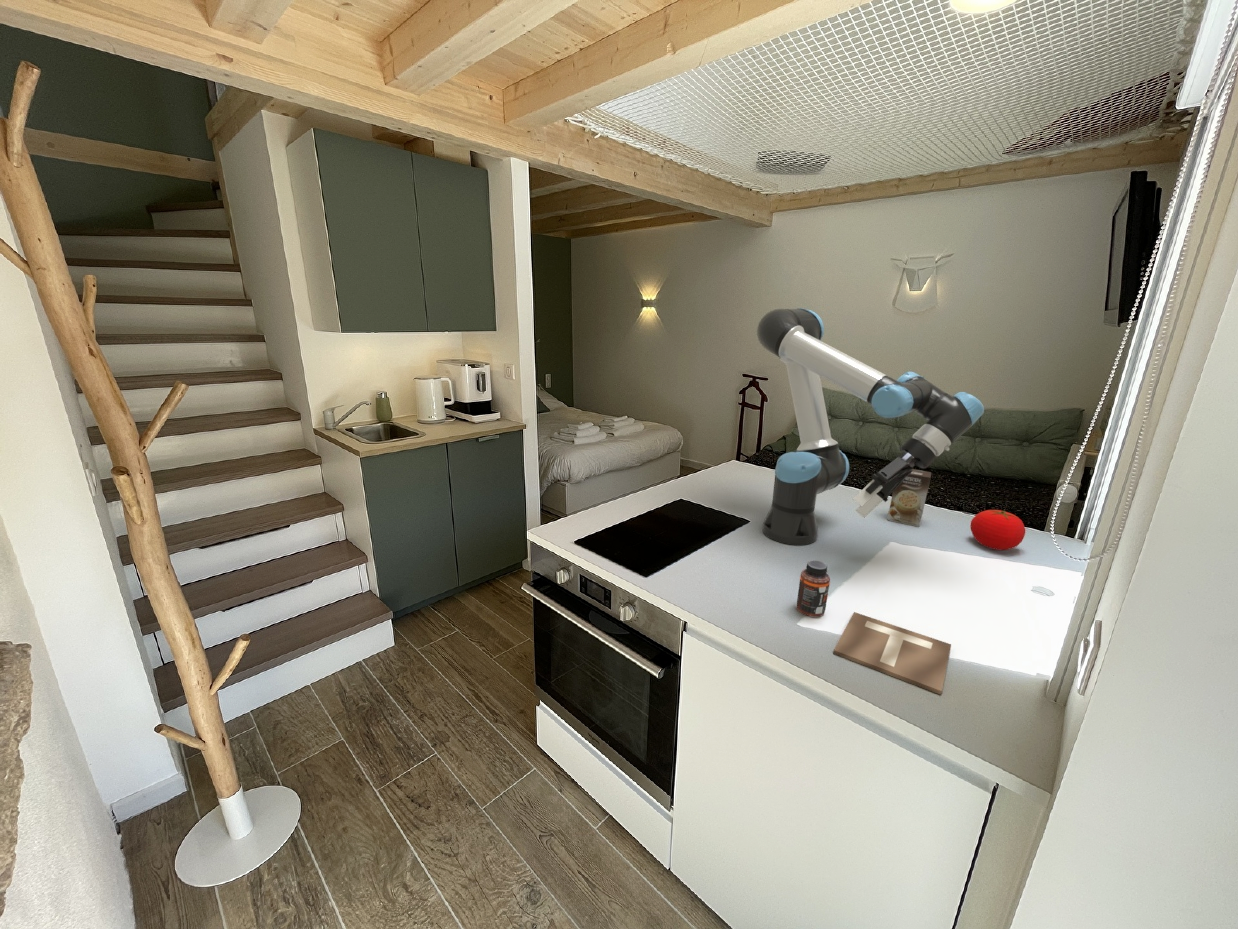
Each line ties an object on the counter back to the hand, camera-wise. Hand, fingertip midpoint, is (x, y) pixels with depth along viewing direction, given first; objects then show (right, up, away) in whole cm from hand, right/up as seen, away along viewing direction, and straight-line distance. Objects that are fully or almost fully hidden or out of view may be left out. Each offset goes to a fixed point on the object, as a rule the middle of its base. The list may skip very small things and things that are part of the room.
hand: (858, 508), depth 128 cm
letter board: (-6, -25, -28) cm, 38 cm away
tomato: (+45, -12, +17) cm, 50 cm away
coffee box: (+29, -7, +33) cm, 44 cm away
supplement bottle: (-18, -21, -15) cm, 31 cm away
